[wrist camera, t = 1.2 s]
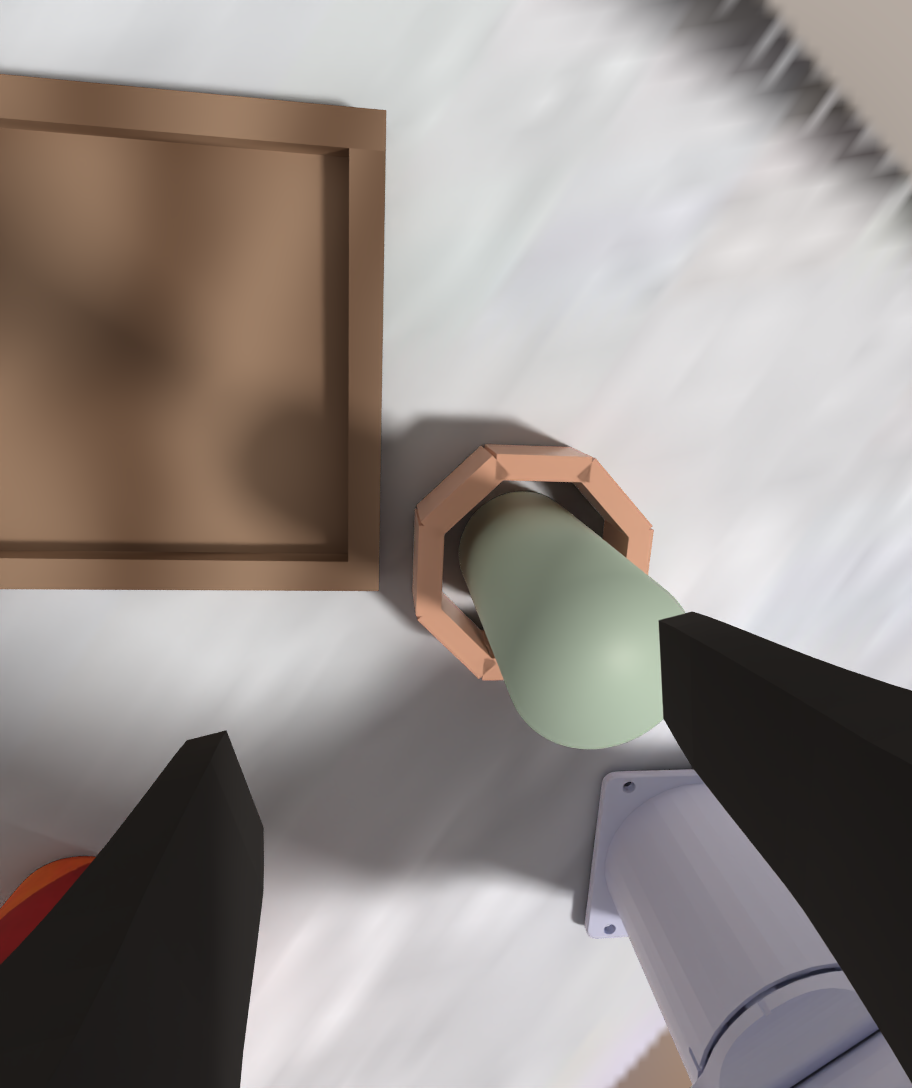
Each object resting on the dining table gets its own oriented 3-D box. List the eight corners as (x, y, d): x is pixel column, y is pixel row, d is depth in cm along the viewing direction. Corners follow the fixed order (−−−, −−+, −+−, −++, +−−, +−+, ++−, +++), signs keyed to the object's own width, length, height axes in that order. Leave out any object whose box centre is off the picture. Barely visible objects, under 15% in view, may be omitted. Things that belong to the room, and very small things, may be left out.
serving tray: (385, 127, 19) (386, 110, 18) (378, 577, 23) (378, 591, 22) (-138, 79, 18) (-180, 56, 16) (-54, 574, 21) (-82, 588, 20)
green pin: (585, 492, 23) (707, 572, 15) (573, 609, 24) (680, 747, 16) (461, 489, 23) (513, 571, 14) (456, 609, 24) (500, 752, 15)
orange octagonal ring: (634, 448, 23) (662, 459, 21) (610, 649, 25) (634, 678, 23) (416, 441, 22) (421, 451, 20) (410, 650, 24) (413, 681, 22)
